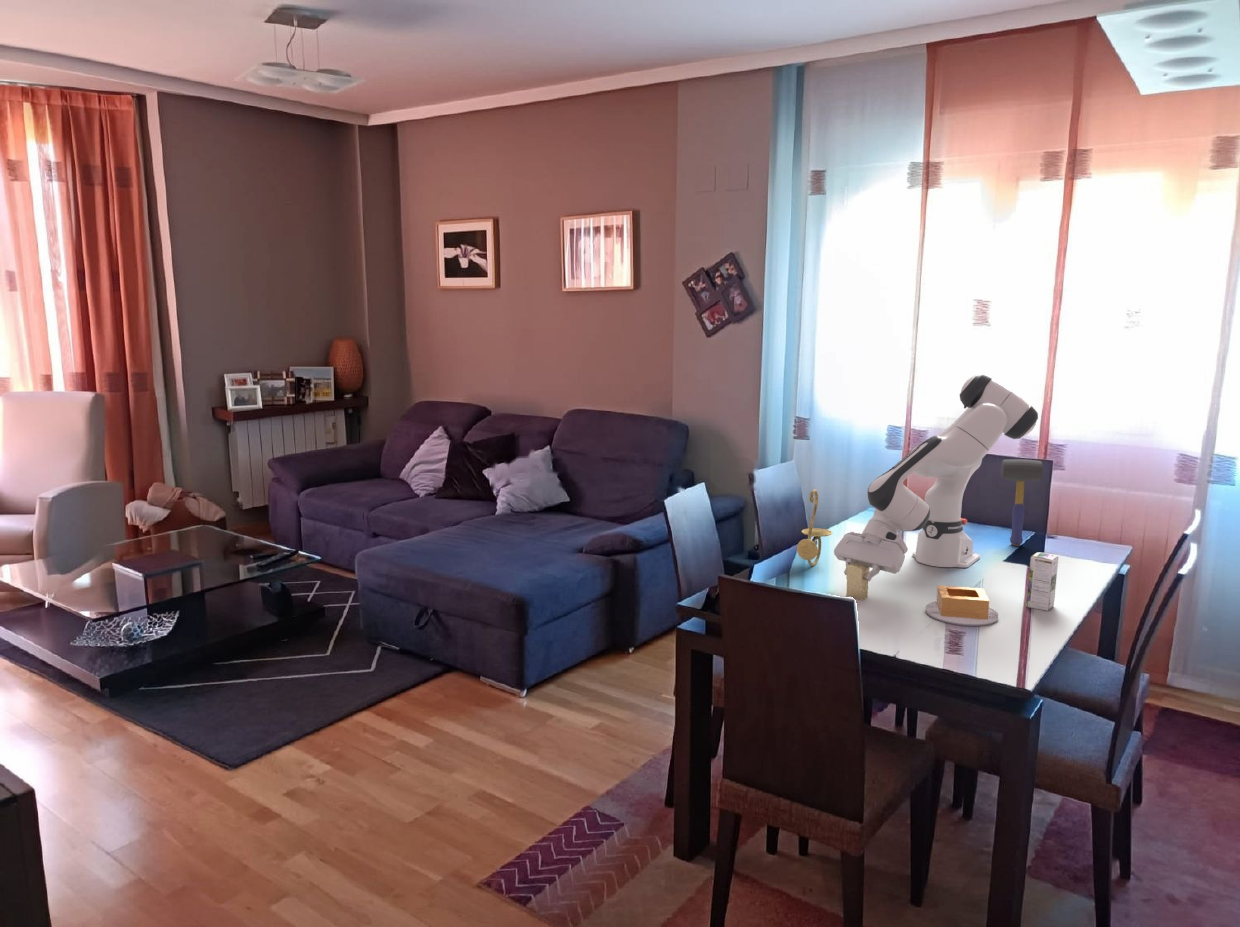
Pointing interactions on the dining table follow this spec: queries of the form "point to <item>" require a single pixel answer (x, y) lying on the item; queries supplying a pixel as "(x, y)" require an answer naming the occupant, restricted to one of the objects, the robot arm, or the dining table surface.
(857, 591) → the wedge
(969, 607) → the socket
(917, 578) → the dining table surface
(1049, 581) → the syrup box
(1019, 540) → the rubber mallet
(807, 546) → the wall sconce
